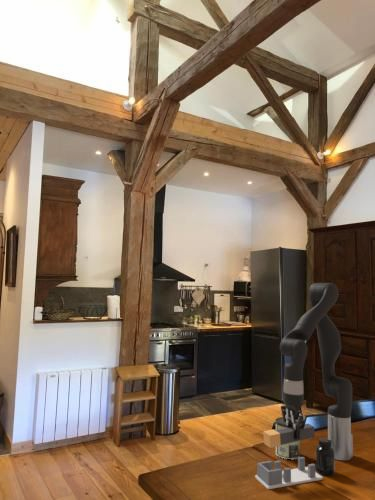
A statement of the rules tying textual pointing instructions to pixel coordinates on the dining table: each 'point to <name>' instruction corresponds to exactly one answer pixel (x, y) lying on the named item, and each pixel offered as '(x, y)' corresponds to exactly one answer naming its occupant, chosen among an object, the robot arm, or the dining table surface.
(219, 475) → the dining table surface
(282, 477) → the white grey holder tray
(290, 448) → the coffee can
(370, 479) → the dining table surface
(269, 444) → the grey orange bar
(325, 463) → the supplement bottle
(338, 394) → the robot arm
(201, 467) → the dining table surface
